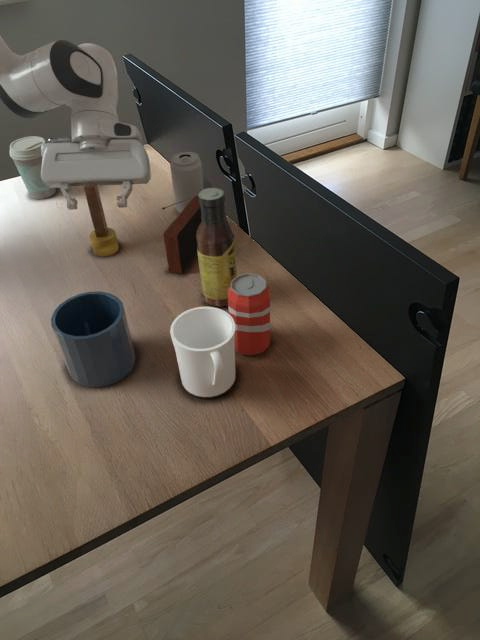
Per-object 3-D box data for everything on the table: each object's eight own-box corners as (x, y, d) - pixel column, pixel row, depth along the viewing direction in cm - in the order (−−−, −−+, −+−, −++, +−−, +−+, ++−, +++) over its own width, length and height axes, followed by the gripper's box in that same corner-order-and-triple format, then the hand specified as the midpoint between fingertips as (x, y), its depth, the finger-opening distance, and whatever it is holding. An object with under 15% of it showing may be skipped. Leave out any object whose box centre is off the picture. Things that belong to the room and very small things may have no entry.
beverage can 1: (203, 200, 119) (199, 148, 111) (207, 215, 114) (202, 162, 106) (175, 203, 118) (168, 152, 110) (177, 219, 114) (170, 166, 106)
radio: (203, 226, 111) (196, 157, 101) (216, 228, 110) (211, 159, 100) (162, 278, 99) (150, 205, 89) (177, 281, 98) (166, 208, 88)
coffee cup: (26, 205, 120) (9, 154, 112) (21, 189, 126) (4, 140, 118) (64, 196, 123) (50, 146, 115) (58, 181, 129) (44, 132, 121)
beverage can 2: (269, 329, 87) (269, 270, 79) (270, 358, 82) (270, 297, 74) (231, 330, 87) (227, 271, 79) (230, 358, 83) (226, 298, 75)
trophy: (91, 257, 105) (73, 192, 95) (95, 242, 108) (79, 178, 99) (116, 256, 104) (101, 191, 95) (120, 241, 108) (106, 177, 99)
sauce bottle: (240, 306, 92) (235, 203, 78) (204, 310, 91) (192, 207, 78) (236, 283, 97) (230, 182, 83) (201, 287, 96) (190, 186, 83)
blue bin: (61, 388, 80) (42, 340, 73) (76, 340, 87) (60, 292, 80) (130, 386, 79) (117, 337, 73) (139, 338, 87) (128, 290, 80)
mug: (171, 367, 82) (162, 316, 75) (225, 350, 84) (222, 300, 77) (193, 420, 74) (186, 369, 67) (253, 400, 76) (251, 349, 70)
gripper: (34, 131, 99) (35, 205, 98) (145, 126, 98) (147, 201, 98) (47, 144, 105) (48, 214, 104) (151, 139, 105) (153, 210, 104)
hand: (97, 207), depth 101 cm, fingers open, 8 cm apart
